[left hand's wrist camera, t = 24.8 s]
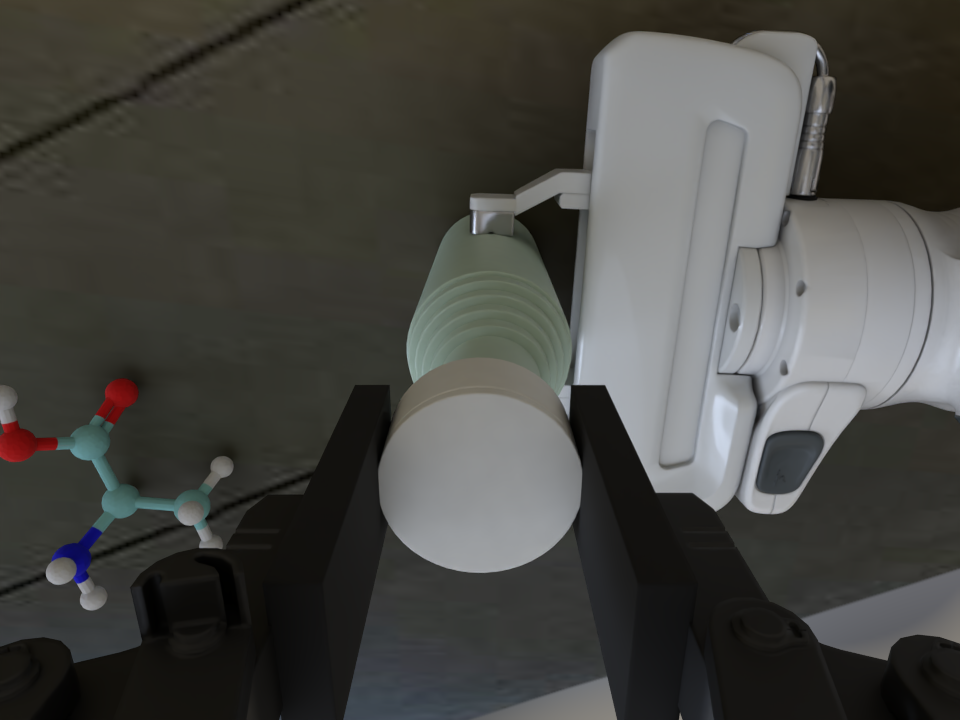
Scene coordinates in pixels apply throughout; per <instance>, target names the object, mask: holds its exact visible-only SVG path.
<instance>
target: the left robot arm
mask: <svg viewBox="0 0 960 720" xmlns="http://www.w3.org/2000/svg"><path fill="white" fill-rule="evenodd" d="M569 422H570V426H571V429H572V432H573V436H574V439H575V443H576V446H577V449H578V453H579V456H580V460H581V464H582V487H581V502H580V508H579V510H578V513H577V515H576V518H575V519H574V521H573V528H574V532H575V536H576V541H577V545H578V550H579V554H580V558H581V563H582V567H583V571H584V576H585V580H586V585H587V589H588V593H589V598H590V602H591V607H592V611H593V615H594V620H595V624H596V628H597V633H598V637H599V642H600V646H601V650H602V655H603V659H604V664H605V668H606V672H607V677H608V681H609V686H610V690H611V694H612V699H613V703H614V707H615V712H616V716H617V720H679V715H680V713H681V716H682V719H683V720H960V644H959V643H956V642H953V641H950V640H947V639H944V638H941V637H934V636H925V635H914V636H909V637H904V638H900V639H899V640H898V641H897V642H896V643H895V644H894V645H893V646H892V647H891V650H890V654H889V657H888V661H886V660H882V659H878V658H873V657H869V656H865V655H860V654H856V653H852V652H848V651H843V650H840V649H836V648H833V647H830V646H827V645H824V644H821V643H819V642H818V640H817V638H816V637H815V635H814V634H813V632H812V630H811V629H810V627H809V626H808V625H807V624H806V623H805V622H804V621H802V620H801V619H800V618H799V617H798V616H796V615H795V614H794V613H793V612H791V611H789V610H787V609H785V608H783V607H781V606H779V605H777V604H775V603H773V602H769V600H768V599H767V597H766V595H765V594H764V592H763V590H762V589H761V587H760V585H759V584H758V582H757V580H756V579H755V577H754V575H753V574H752V572H751V570H750V569H749V567H748V565H747V564H746V562H745V560H744V559H743V557H742V555H741V554H740V552H739V550H738V549H737V547H734V542H733V540H732V539H731V537H730V535H729V534H728V532H727V531H725V527H724V525H723V524H722V522H721V520H720V519H719V517H718V515H717V514H716V512H715V510H714V509H713V508H712V507H711V506H709V505H708V504H707V503H705V502H704V501H703V500H701V499H700V498H699V497H697V496H696V495H695V494H694V493H656V492H655V490H654V488H653V486H652V484H651V482H650V480H649V477H648V475H647V473H646V471H645V469H644V467H643V465H642V463H641V460H640V458H639V456H638V454H637V452H636V450H635V448H634V445H633V443H632V441H631V439H630V437H629V435H628V433H627V431H626V428H625V426H624V424H623V422H622V420H621V418H620V416H619V414H618V411H617V409H616V407H615V405H614V403H613V401H612V399H611V397H610V394H609V392H608V390H607V388H606V386H605V385H571V393H570V412H569ZM390 425H391V404H390V385H355V387H354V389H353V391H352V393H351V395H350V397H349V400H348V402H347V404H346V406H345V408H344V410H343V412H342V414H341V417H340V419H339V421H338V423H337V425H336V427H335V429H334V431H333V434H332V436H331V438H330V440H329V442H328V444H327V446H326V449H325V451H324V453H323V455H322V457H321V459H320V461H319V463H318V466H317V468H316V470H315V472H314V474H313V476H312V478H311V481H310V483H309V485H308V487H307V489H306V491H305V493H304V495H267V496H266V497H265V498H263V499H262V500H261V501H259V502H258V503H257V504H255V505H254V506H253V507H252V508H250V509H249V510H248V511H247V512H246V514H245V515H244V517H243V519H242V520H241V522H240V524H239V525H238V527H237V529H236V533H235V534H233V535H232V537H231V539H230V540H229V542H228V544H227V545H226V546H227V547H226V550H223V549H220V548H196V549H192V550H187V551H183V552H178V553H175V554H173V555H171V556H169V557H166V558H164V559H162V560H159V561H157V562H156V563H154V564H153V565H152V566H150V567H149V568H148V569H146V570H145V571H143V572H142V573H141V574H140V575H139V576H138V578H137V579H136V580H135V582H134V583H133V584H132V586H131V587H130V589H131V593H132V598H133V602H134V606H135V611H136V615H137V619H138V624H139V628H140V632H141V637H142V643H141V646H139V647H136V648H133V649H129V650H126V651H123V652H120V653H115V654H111V655H107V656H103V657H98V658H94V659H90V660H86V661H81V662H77V663H74V662H73V659H72V655H71V652H70V649H69V648H67V647H66V646H65V645H64V644H63V643H62V642H61V641H59V640H54V639H49V638H45V637H42V638H33V639H24V640H19V641H16V642H13V643H10V644H7V645H4V646H1V647H0V720H279V718H280V715H281V719H282V720H343V718H344V714H345V709H346V705H347V701H348V696H349V692H350V687H351V683H352V679H353V674H354V670H355V665H356V661H357V657H358V652H359V648H360V643H361V639H362V635H363V630H364V626H365V622H366V617H367V613H368V608H369V604H370V600H371V595H372V591H373V586H374V582H375V578H376V573H377V569H378V564H379V560H380V556H381V551H382V547H383V542H384V538H385V534H386V529H387V525H388V522H387V520H386V518H385V516H384V514H383V511H382V509H381V506H380V496H379V480H378V466H379V462H380V459H381V455H382V452H383V449H384V445H385V442H386V438H387V435H388V431H389V428H390Z"/></svg>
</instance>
